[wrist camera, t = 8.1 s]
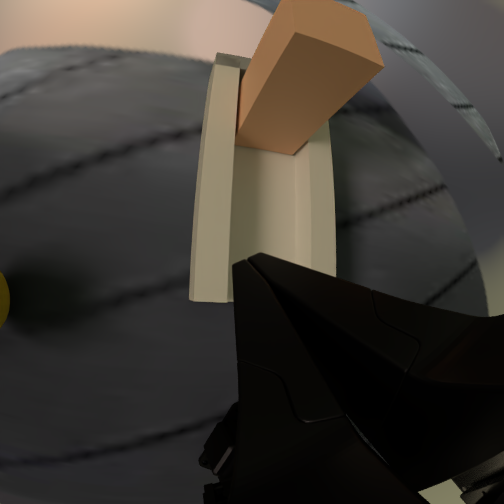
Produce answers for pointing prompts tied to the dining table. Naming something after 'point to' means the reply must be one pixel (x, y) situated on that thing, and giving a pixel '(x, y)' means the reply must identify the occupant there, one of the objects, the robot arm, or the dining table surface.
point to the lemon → (4, 299)
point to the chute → (256, 196)
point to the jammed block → (303, 73)
